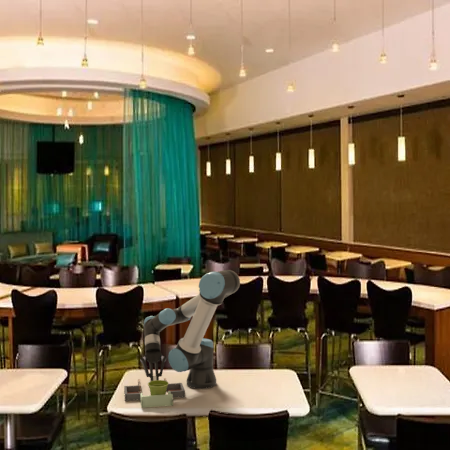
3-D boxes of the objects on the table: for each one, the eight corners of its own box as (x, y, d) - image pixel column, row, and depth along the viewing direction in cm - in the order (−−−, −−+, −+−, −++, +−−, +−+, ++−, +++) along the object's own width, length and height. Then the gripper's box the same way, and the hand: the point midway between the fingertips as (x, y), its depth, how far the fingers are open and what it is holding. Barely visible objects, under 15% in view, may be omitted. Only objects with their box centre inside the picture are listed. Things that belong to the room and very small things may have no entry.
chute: (137, 385, 281) (137, 379, 281) (165, 383, 284) (165, 378, 284) (138, 392, 271) (139, 385, 271) (167, 390, 274) (167, 384, 274)
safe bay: (140, 399, 262) (140, 388, 261) (170, 397, 264) (170, 386, 264) (141, 407, 251) (141, 396, 251) (172, 405, 254) (172, 394, 253)
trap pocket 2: (166, 389, 275) (166, 383, 275) (181, 388, 277) (181, 382, 276) (169, 398, 263) (169, 391, 263) (185, 397, 265) (185, 390, 265)
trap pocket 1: (124, 392, 271) (124, 386, 271) (139, 391, 272) (139, 385, 272) (124, 400, 259) (125, 394, 259) (141, 399, 261) (141, 393, 261)
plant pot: (166, 405, 253) (166, 387, 253) (145, 405, 254) (145, 386, 254) (170, 398, 263) (170, 380, 262) (150, 397, 264) (150, 379, 263)
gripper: (165, 348, 283) (168, 392, 267) (139, 350, 280) (140, 394, 264) (166, 341, 277) (169, 385, 262) (139, 342, 275) (141, 386, 259)
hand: (155, 389), depth 263 cm, fingers closed
